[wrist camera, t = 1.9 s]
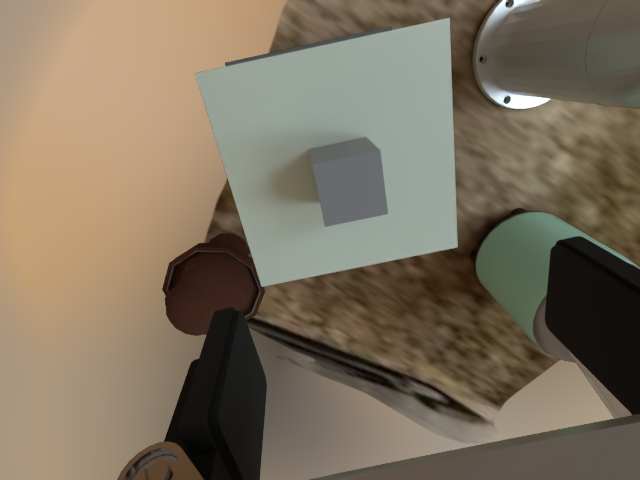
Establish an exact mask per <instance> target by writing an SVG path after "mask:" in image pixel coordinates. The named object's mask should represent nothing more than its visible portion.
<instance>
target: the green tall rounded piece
mask: <svg viewBox="0 0 640 480" xmlns="http://www.w3.org/2000/svg"><path fill="white" fill-rule="evenodd" d="M576 236H581V237H584V238H586V239H587V240H589V241H591V242H593V243H594V244H596V245H598V246H600V247H601V248H603V249H605V250H607V251H608V252H610V253H612V254H614V255H615V256H617V257H619V258H620V259H622V260H624V261H626V262H627V263H629V264H631V265H633V266H634V267H636V268H638V269H640V268H639V267H638V266H637V265H636V264H634V263H633V262H631V261H630V260H628V259H627V258H625V257H623V256H622V255H620V254H619V253H617V252H615V251H614V250H612V249H610V248H609V247H607V246H605V245H603V244H602V243H600V242H598V241H597V240H595V239H593V238H591V237H590V236H588V235H586V234H585V233H583V232H581V231H579V230H578V229H576V228H574V227H573V226H571V225H569V224H567V223H566V222H564V221H562V220H561V219H559V218H557V217H555V216H554V215H552V214H548V213H544V212H540V211H526V210H524V209H522V208H518V209H516V210H514V211H513V212H512V215H511V216H509V217H507V218H505V219H503V220H501V221H499V222H498V223H497V224H496V225H494V226H493V227H492V228H491V229H490V230H489V231H488V232H487V233H486V235H485V236H484V237H483V238H482V239H481V242H480V244H479V246H478V248H477V250H474V251H473V252H472V253H471V256H470V257H471V260H472V261H473V262H474V264H475V272H476V275H477V277H478V279H479V281H480V283H481V284H482V285H483V286H484V288H485V289H486V290H487V291H488V292H489V293H490V294H491V296H492V297H493V298H494V299H495V300H496V301H497V302H498V303H499V305H500V306H501V307H502V308H503V309H504V310H505V311H506V312H507V314H508V315H509V316H510V317H511V318H512V319H513V320H514V321H515V323H516V324H517V325H518V326H519V327H520V328H521V329H522V330H523V332H524V333H525V334H526V335H527V336H528V337H529V338H530V339H531V340H532V341H533V342H534V343H535V344H536V345H537V346H538V347H539V348H541V349H542V350H543V351H544V352H546V353H548V354H550V355H552V356H554V357H556V358H559V359H562V360H564V361H569V362H574V363H576V364H577V365H578V366H579V368H580V369H581V371H582V372H583V373H584V375H585V377H586V378H587V379H588V381H589V382H590V384H591V385H592V387H593V388H594V390H595V391H596V393H597V394H598V396H599V397H600V398H601V400H602V401H603V403H604V404H605V406H606V407H607V408H608V410H609V411H610V413H611V414H612V416H613V417H614V419H616V418H621V417H626V416H632V414H631V413H630V412H629V411H628V410H627V409H626V408H625V407H624V406H623V405H622V404H621V403H620V402H619V401H618V400H617V399H616V398H615V397H614V396H613V395H612V394H611V393H610V392H609V391H608V390H607V389H606V388H605V387H604V386H603V385H602V383H601V382H600V381H599V380H598V379H597V378H596V377H595V376H594V375H593V374H592V373H591V372H590V371H589V370H588V369H587V368H586V367H585V366H584V365H583V364H582V363H581V362H580V361H579V360H578V359H577V358H576V357H575V356H574V355H573V354H572V353H571V352H570V351H569V350H568V349H567V348H566V347H565V346H564V345H563V344H562V343H561V342H560V341H559V340H558V339H557V338H556V337H555V336H554V335H553V334H552V333H551V332H550V331H549V329H548V328H547V326H546V324H545V308H546V296H547V285H548V273H549V262H550V251H551V248H552V247H553V246H555V244H556V242H557V241H559V240H562V239H566V238H571V237H576Z"/></svg>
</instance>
